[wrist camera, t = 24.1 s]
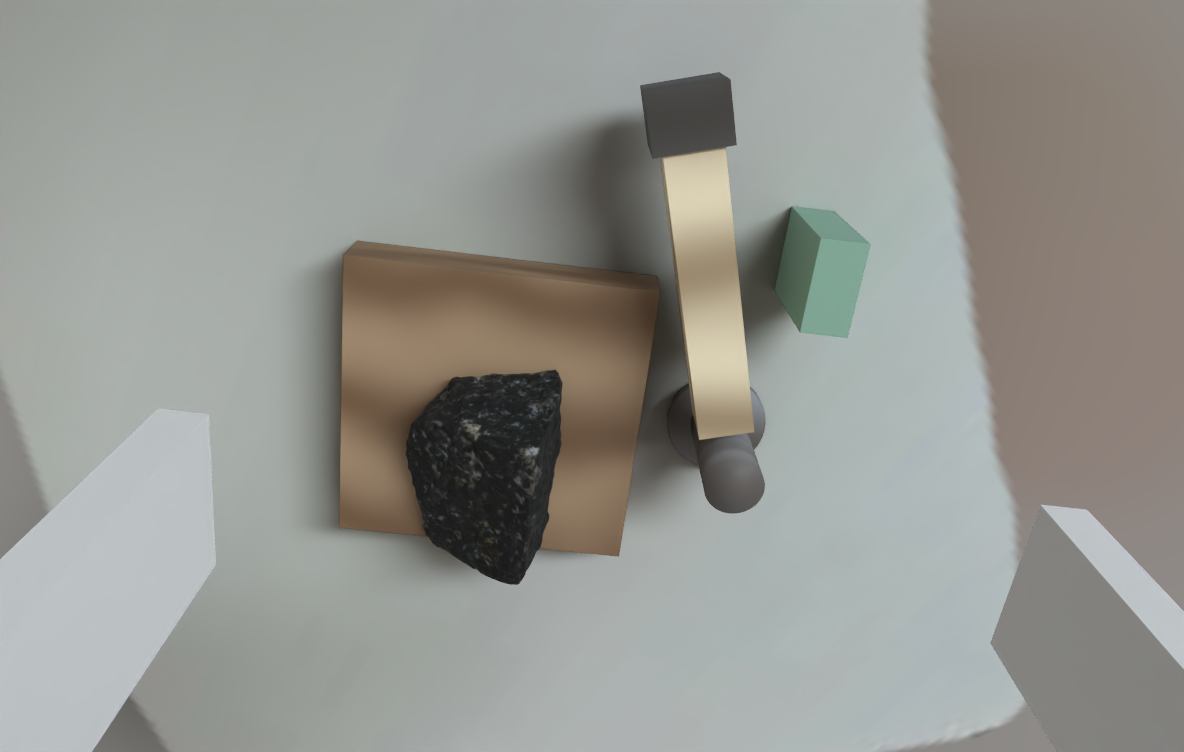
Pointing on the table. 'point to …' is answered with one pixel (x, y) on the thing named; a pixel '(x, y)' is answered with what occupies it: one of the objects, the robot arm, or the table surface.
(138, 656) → the robot arm
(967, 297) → the table surface
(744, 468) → the seat
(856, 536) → the table surface
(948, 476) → the table surface
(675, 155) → the leg
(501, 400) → the rock
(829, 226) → the pale green block
